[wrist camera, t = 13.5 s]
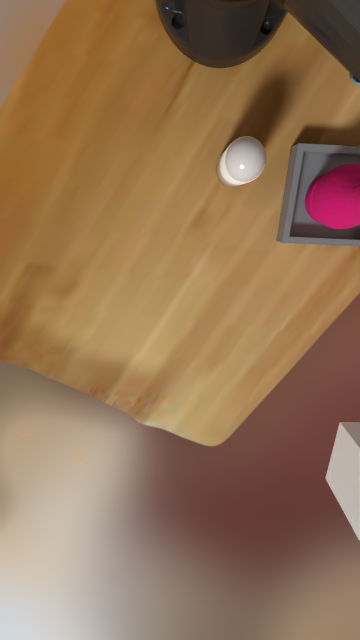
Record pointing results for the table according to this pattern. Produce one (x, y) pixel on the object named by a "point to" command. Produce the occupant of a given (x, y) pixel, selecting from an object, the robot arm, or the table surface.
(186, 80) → the table surface
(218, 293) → the table surface
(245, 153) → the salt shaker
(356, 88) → the table surface
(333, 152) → the tray
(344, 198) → the pepper mill
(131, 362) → the table surface
